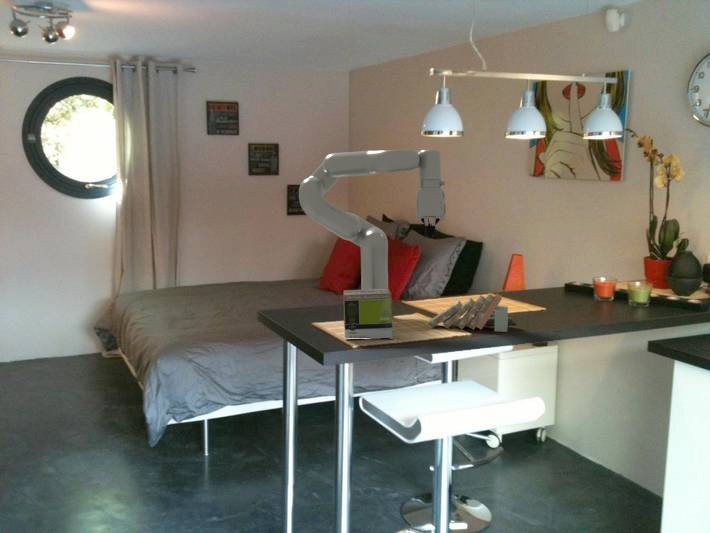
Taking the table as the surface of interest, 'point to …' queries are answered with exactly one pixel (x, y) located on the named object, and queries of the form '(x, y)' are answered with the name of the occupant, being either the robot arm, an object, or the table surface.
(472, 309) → the domino
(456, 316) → the domino
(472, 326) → the domino
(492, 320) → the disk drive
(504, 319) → the block
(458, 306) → the domino
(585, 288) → the table surface
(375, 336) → the tea box
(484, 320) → the domino
